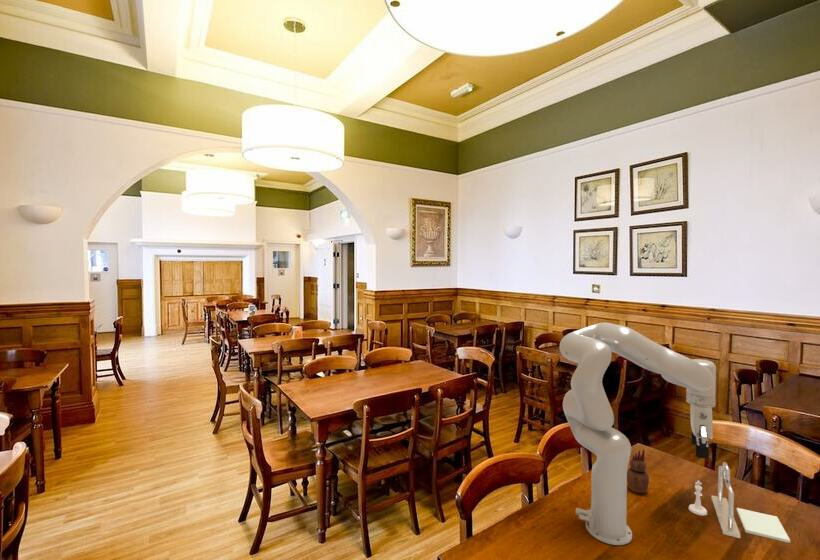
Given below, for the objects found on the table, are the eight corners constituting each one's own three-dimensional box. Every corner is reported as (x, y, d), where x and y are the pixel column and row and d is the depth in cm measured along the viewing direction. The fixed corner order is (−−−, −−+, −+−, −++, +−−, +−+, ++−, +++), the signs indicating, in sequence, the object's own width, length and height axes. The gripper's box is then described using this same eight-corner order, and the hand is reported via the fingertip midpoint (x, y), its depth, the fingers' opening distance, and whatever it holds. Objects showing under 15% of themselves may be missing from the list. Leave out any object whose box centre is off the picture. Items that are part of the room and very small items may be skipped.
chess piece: (710, 516, 128) (711, 485, 128) (693, 514, 129) (693, 484, 129) (702, 506, 133) (703, 477, 132) (685, 505, 134) (686, 476, 133)
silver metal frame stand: (723, 534, 120) (724, 479, 119) (711, 498, 137) (712, 450, 137) (740, 538, 118) (741, 482, 117) (726, 501, 136) (727, 452, 135)
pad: (745, 532, 121) (745, 529, 120) (736, 510, 131) (736, 507, 131) (790, 543, 116) (790, 540, 116) (777, 519, 126) (777, 516, 126)
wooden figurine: (648, 489, 143) (649, 448, 143) (648, 497, 138) (649, 455, 138) (627, 484, 147) (627, 443, 146) (626, 491, 142) (626, 450, 141)
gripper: (720, 409, 120) (719, 466, 121) (710, 392, 135) (709, 442, 136) (689, 405, 123) (688, 460, 124) (683, 389, 138) (682, 437, 139)
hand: (699, 451), depth 130 cm, fingers open, 9 cm apart
